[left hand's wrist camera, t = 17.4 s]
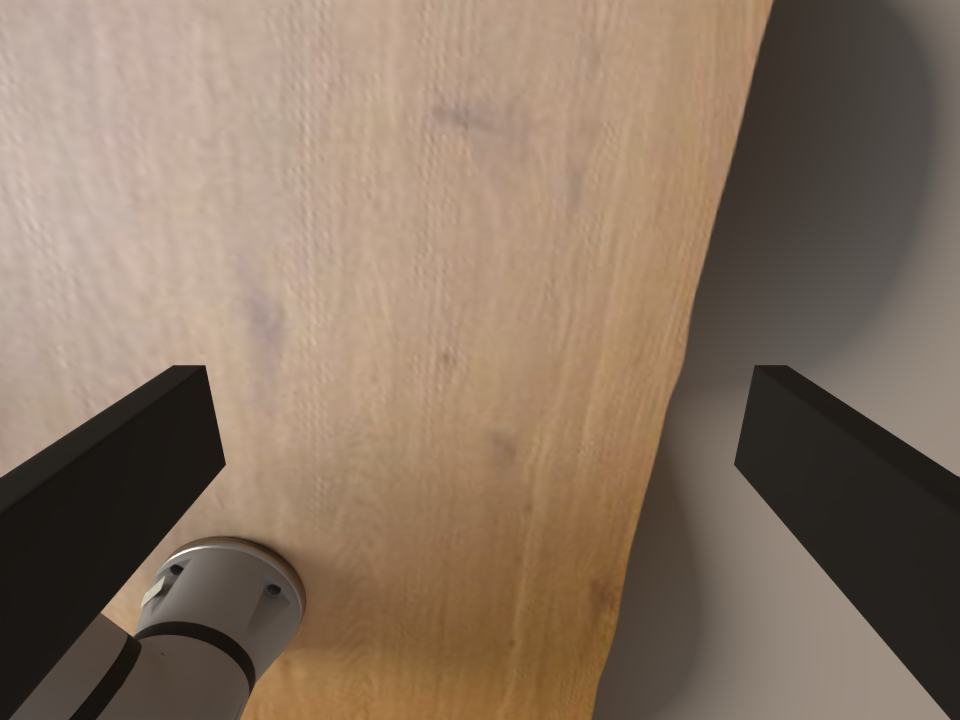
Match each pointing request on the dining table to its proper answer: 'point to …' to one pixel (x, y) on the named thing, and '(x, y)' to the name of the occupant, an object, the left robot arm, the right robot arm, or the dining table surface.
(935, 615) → the left robot arm
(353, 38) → the dining table surface
